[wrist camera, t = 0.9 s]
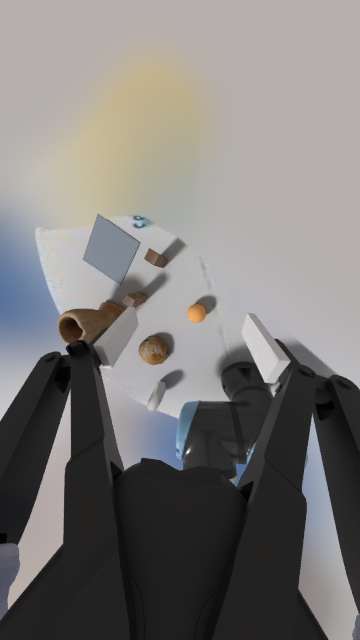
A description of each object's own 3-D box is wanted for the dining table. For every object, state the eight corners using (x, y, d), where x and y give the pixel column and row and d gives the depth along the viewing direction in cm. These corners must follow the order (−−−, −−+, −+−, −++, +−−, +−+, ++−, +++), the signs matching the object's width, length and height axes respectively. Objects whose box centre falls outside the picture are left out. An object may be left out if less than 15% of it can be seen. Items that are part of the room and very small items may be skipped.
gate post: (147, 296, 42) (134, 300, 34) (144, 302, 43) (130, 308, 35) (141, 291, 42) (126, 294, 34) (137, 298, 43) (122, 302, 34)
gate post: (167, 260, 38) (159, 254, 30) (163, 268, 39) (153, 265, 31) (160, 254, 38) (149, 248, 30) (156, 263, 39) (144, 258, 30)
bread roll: (162, 330, 49) (148, 331, 42) (176, 354, 47) (164, 359, 39) (144, 344, 52) (129, 347, 45) (156, 367, 49) (142, 374, 42)
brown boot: (98, 295, 45) (51, 303, 30) (130, 308, 45) (98, 323, 30) (91, 332, 50) (49, 354, 35) (120, 345, 49) (89, 371, 35)
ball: (209, 309, 41) (210, 313, 36) (198, 322, 43) (198, 328, 37) (194, 299, 40) (194, 302, 35) (184, 313, 42) (182, 317, 37)
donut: (159, 394, 54) (150, 419, 45) (151, 390, 54) (141, 414, 45) (170, 378, 51) (163, 401, 41) (162, 374, 51) (153, 396, 41)
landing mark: (140, 243, 38) (139, 243, 38) (120, 284, 42) (120, 284, 42) (98, 213, 37) (97, 213, 37) (83, 259, 42) (82, 259, 41)
